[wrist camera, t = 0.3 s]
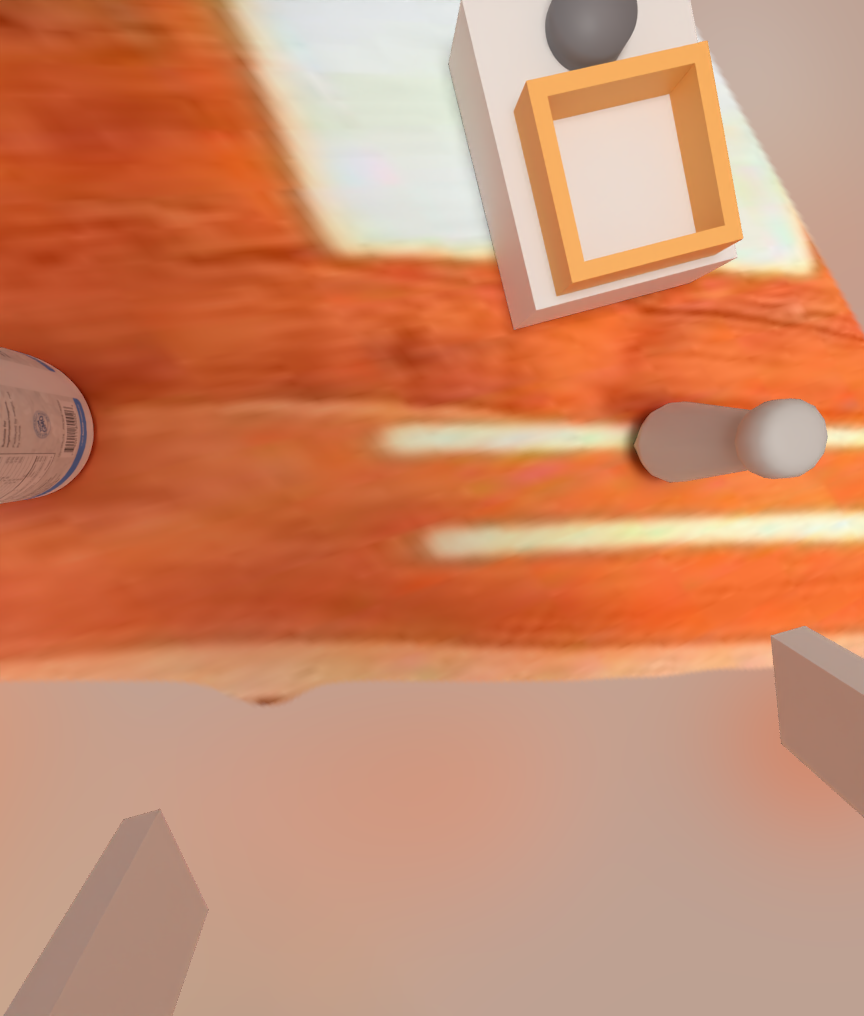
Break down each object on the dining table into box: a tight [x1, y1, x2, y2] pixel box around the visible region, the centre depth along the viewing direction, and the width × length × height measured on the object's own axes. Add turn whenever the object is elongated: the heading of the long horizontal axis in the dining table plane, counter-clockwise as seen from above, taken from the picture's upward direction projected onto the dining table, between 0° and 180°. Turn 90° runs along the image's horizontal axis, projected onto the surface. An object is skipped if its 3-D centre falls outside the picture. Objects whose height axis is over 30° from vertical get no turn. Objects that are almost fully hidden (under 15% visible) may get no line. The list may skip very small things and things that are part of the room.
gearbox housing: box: [448, 0, 743, 330], centre depth 32 cm, size 21×14×8 cm, turn 16°
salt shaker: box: [633, 399, 828, 482], centre depth 32 cm, size 6×6×13 cm
